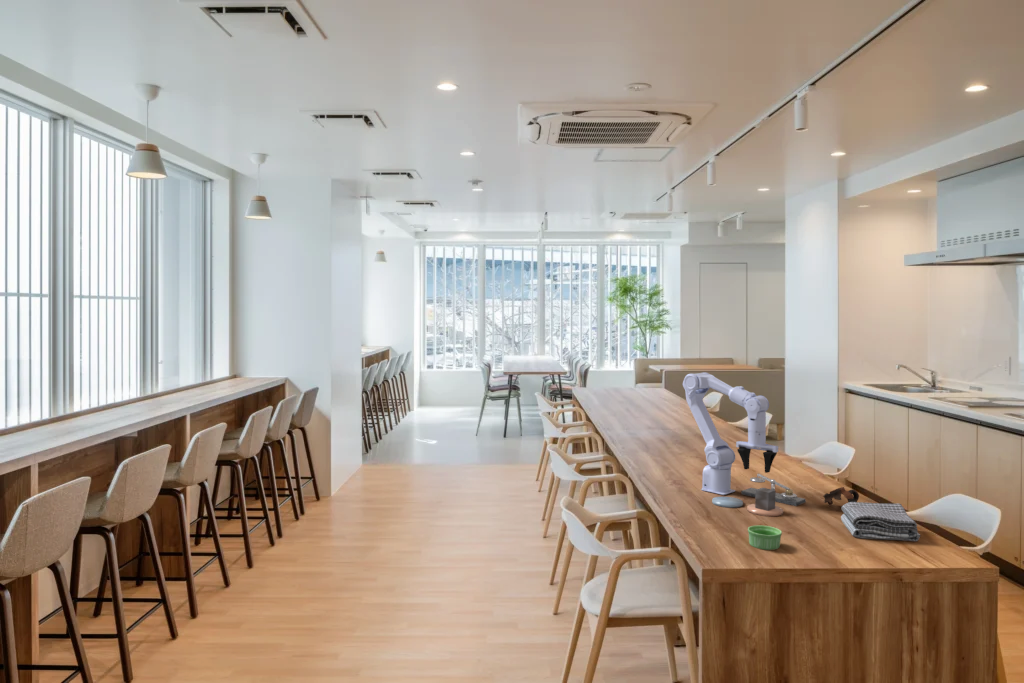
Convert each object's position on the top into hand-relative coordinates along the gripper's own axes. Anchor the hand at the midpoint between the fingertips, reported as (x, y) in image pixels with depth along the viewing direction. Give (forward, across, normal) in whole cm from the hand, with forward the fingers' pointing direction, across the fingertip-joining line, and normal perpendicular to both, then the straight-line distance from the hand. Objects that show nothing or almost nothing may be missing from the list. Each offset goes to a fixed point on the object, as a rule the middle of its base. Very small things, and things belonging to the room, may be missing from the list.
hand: (756, 470), depth 240 cm
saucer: (+10, -5, -11) cm, 16 cm away
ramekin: (+12, +24, -41) cm, 49 cm away
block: (+10, +8, -10) cm, 16 cm away
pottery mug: (+11, +24, +13) cm, 29 cm away
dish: (+11, +8, -10) cm, 17 cm away
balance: (+10, +2, +7) cm, 13 cm away
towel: (+12, +41, -5) cm, 43 cm away
